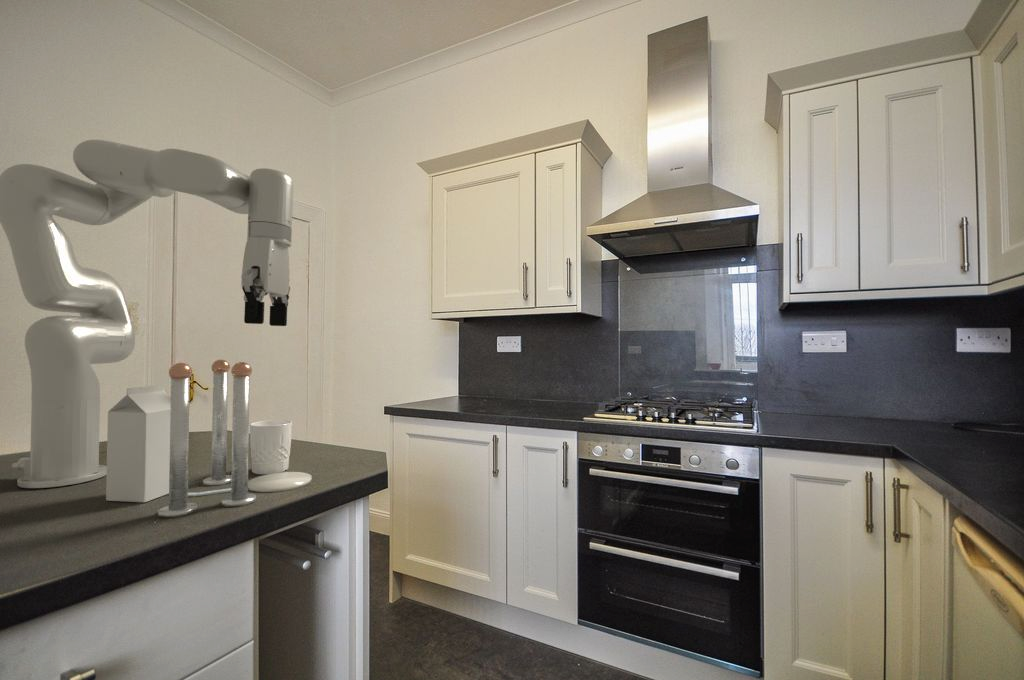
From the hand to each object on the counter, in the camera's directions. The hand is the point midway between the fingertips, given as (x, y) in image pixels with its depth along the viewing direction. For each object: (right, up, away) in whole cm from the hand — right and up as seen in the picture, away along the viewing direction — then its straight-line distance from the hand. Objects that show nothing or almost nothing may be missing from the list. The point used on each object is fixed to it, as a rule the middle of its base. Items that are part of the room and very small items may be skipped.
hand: (266, 324), depth 88 cm
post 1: (-5, -30, -16) cm, 34 cm away
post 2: (-9, -30, 0) cm, 32 cm away
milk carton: (-17, -30, -9) cm, 36 cm away
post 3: (+1, -30, -11) cm, 32 cm away
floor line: (-7, -30, -6) cm, 31 cm away
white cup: (-4, -31, +8) cm, 32 cm away
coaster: (+3, -30, -1) cm, 30 cm away
